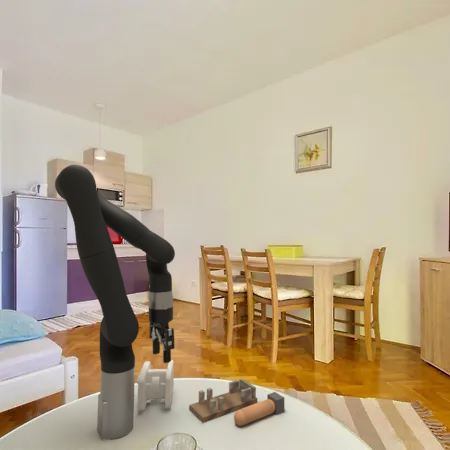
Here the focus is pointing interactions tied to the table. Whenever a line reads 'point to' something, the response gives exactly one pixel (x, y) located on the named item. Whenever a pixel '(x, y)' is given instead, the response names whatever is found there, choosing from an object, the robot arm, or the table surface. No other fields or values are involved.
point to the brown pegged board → (224, 401)
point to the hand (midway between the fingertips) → (161, 357)
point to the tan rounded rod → (260, 409)
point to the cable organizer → (155, 385)
